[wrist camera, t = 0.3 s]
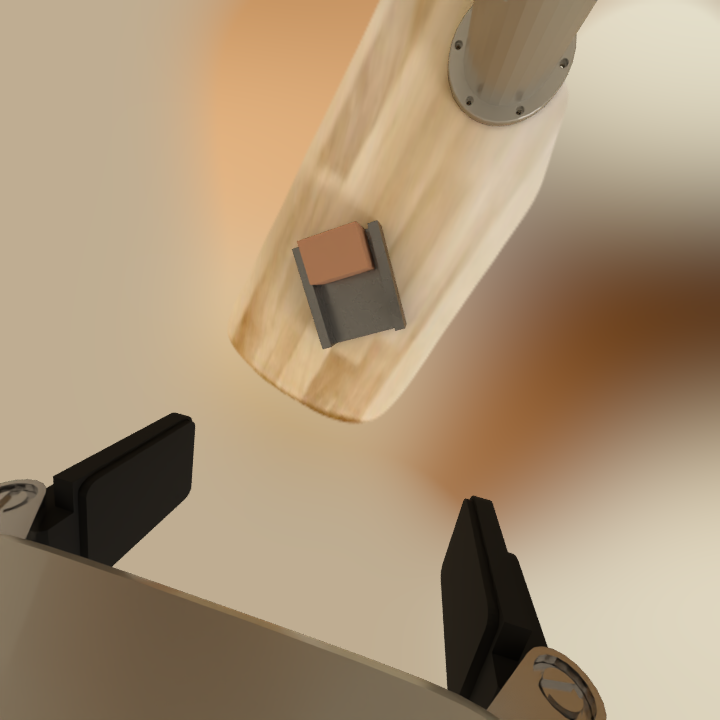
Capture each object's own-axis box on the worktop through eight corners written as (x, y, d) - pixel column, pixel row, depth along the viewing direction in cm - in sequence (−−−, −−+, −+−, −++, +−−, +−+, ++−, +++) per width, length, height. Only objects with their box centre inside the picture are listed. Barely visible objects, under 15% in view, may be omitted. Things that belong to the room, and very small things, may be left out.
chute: (303, 251, 45) (292, 249, 41) (381, 225, 42) (377, 220, 38) (330, 343, 47) (322, 349, 43) (406, 324, 45) (404, 328, 41)
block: (313, 246, 43) (296, 241, 37) (364, 229, 42) (355, 221, 36) (324, 284, 44) (310, 285, 38) (375, 268, 42) (367, 267, 37)
